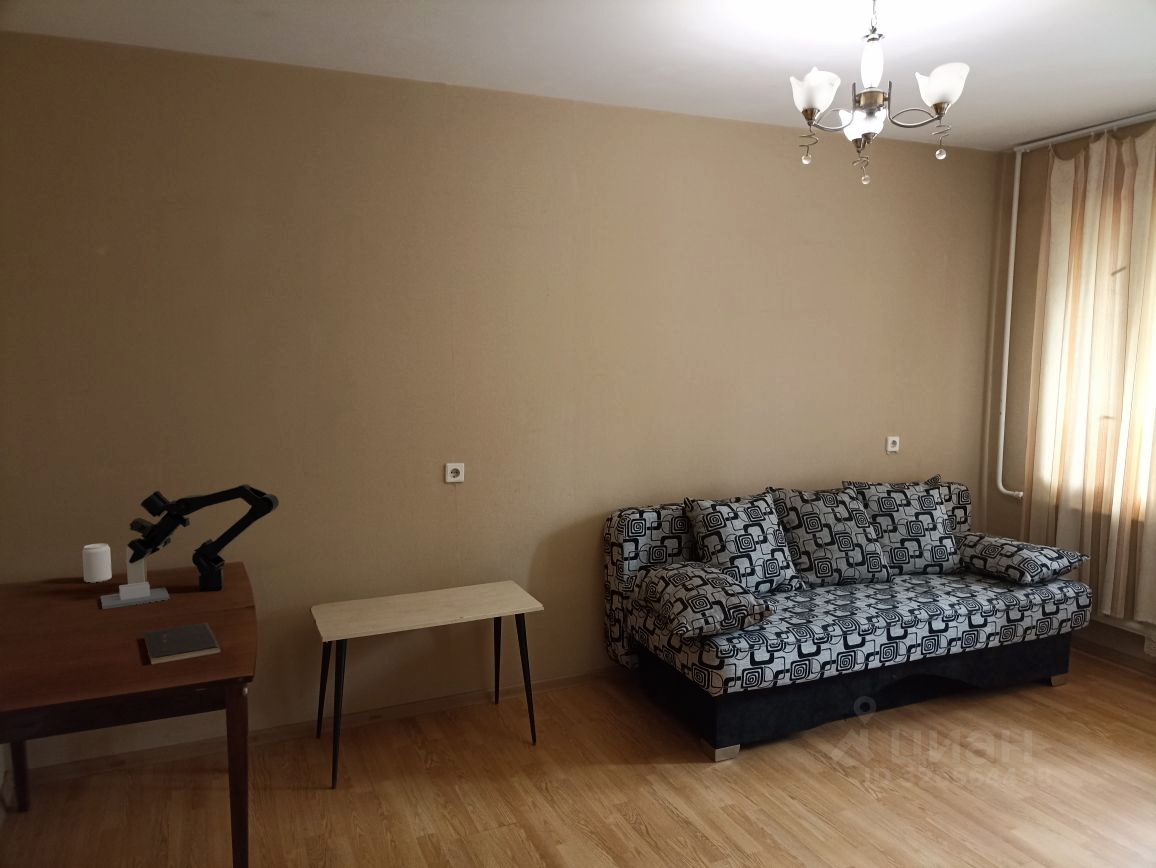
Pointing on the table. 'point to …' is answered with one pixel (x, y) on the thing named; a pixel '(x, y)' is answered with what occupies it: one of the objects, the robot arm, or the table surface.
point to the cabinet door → (135, 569)
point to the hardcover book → (181, 643)
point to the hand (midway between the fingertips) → (132, 561)
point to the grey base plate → (134, 595)
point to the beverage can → (96, 563)
